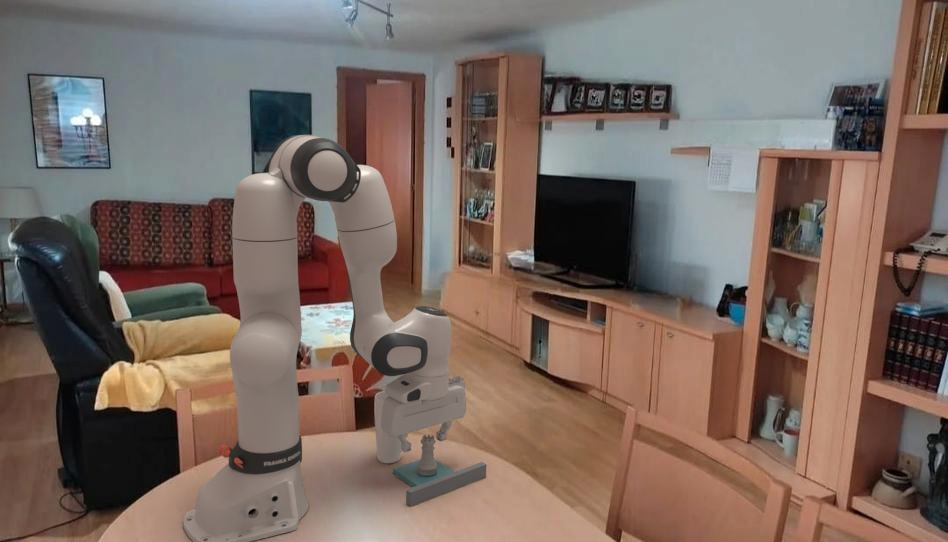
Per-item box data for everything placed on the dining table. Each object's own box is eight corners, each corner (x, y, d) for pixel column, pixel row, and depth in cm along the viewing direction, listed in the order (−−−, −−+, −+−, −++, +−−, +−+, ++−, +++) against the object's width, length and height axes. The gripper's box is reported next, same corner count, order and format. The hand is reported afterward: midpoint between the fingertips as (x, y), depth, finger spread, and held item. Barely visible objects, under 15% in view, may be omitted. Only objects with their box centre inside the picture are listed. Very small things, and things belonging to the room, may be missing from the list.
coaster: (420, 492, 142) (420, 487, 142) (392, 473, 149) (392, 468, 149) (458, 478, 148) (458, 473, 148) (429, 460, 156) (429, 456, 156)
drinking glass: (371, 453, 158) (372, 391, 155) (400, 450, 160) (402, 389, 157) (376, 467, 151) (377, 402, 148) (406, 464, 153) (408, 400, 150)
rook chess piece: (433, 478, 146) (435, 443, 144) (413, 475, 147) (414, 439, 145) (440, 469, 150) (441, 434, 148) (420, 465, 151) (421, 431, 149)
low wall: (410, 506, 136) (410, 492, 136) (405, 503, 137) (406, 489, 137) (485, 477, 149) (486, 464, 149) (481, 474, 150) (481, 461, 150)
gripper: (456, 370, 154) (452, 428, 156) (378, 387, 140) (375, 451, 143) (474, 379, 149) (470, 439, 152) (396, 397, 136) (393, 463, 138)
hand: (423, 445), depth 147 cm, fingers open, 8 cm apart
